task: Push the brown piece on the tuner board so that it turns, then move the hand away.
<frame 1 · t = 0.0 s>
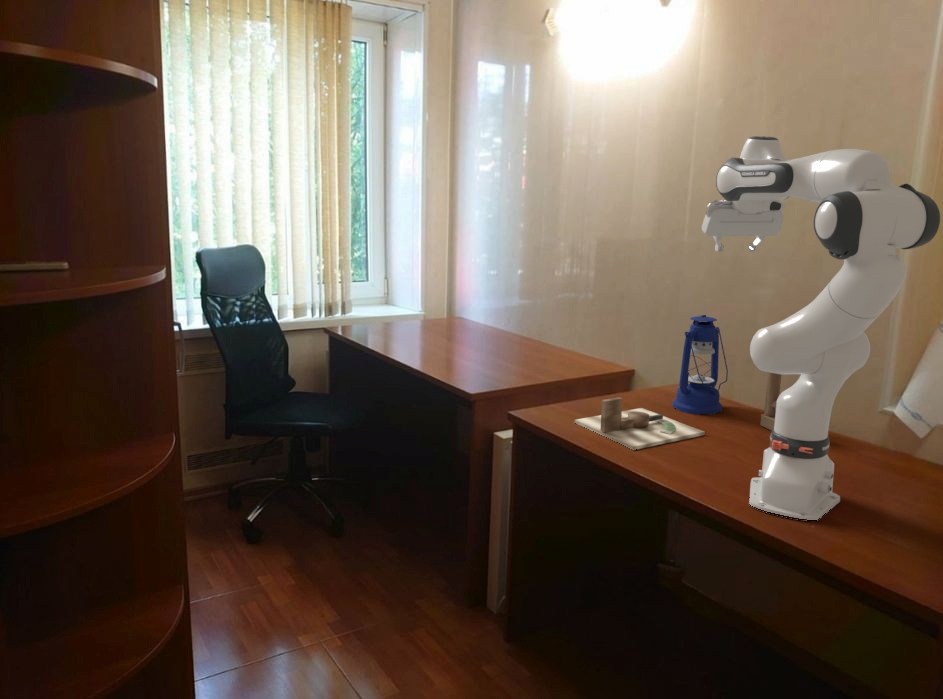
hand: (735, 250, 188), 52 cm above the table, tool tilted 20°, fingers open, 8 cm apart
tuner board: (637, 428, 206), on the table
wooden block: (777, 431, 205), on the table
brown piece: (633, 410, 204), point 6 cm above the table, hinge at 0.0°
lantern: (696, 408, 227), on the table
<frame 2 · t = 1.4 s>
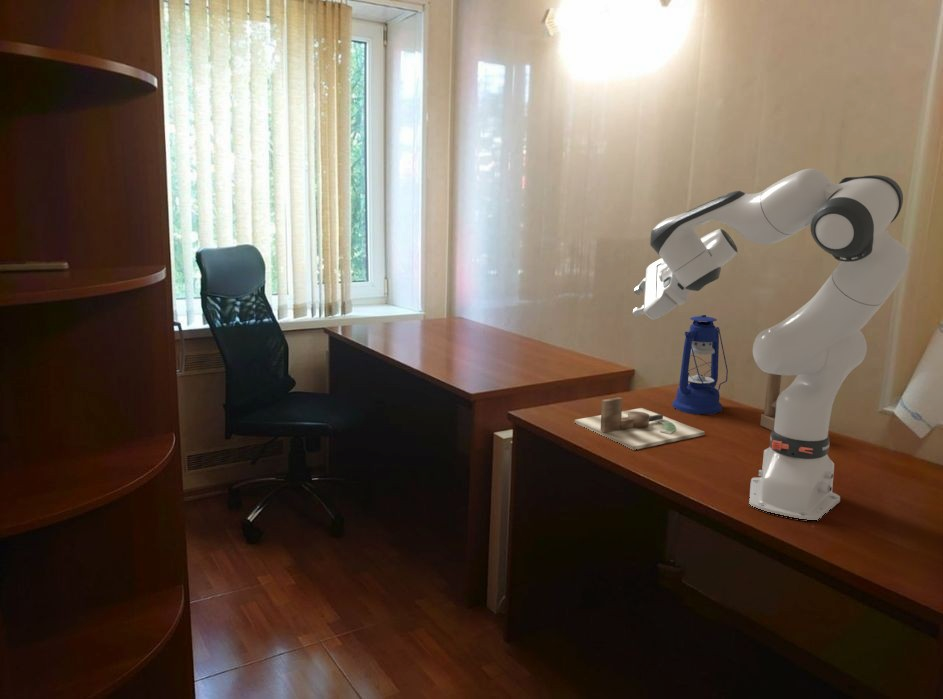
hand: (634, 302, 188), 38 cm above the table, tool tilted 55°, fingers open, 8 cm apart
nothing on the table moved.
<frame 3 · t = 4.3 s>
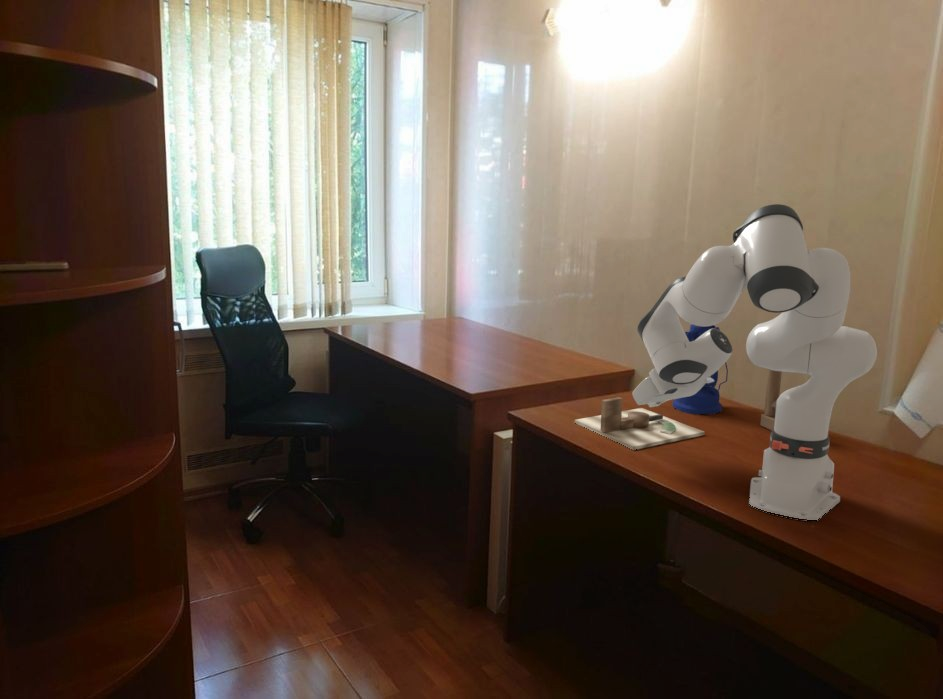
hand: (652, 404, 186), 13 cm above the table, tool tilted 45°, fingers closed
nothing on the table moved.
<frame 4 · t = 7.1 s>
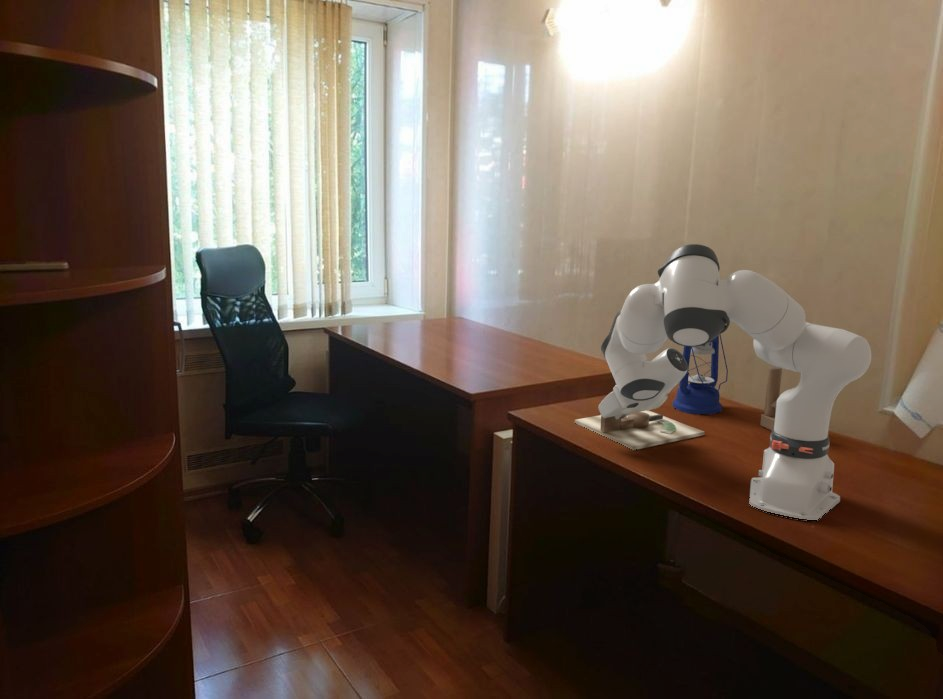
hand: (619, 416, 200), 5 cm above the table, tool tilted 45°, fingers closed, pressing on brown piece
brown piece: (633, 410, 204), point 6 cm above the table, hinge at 0.1°, touching gripper
everything else where it was.
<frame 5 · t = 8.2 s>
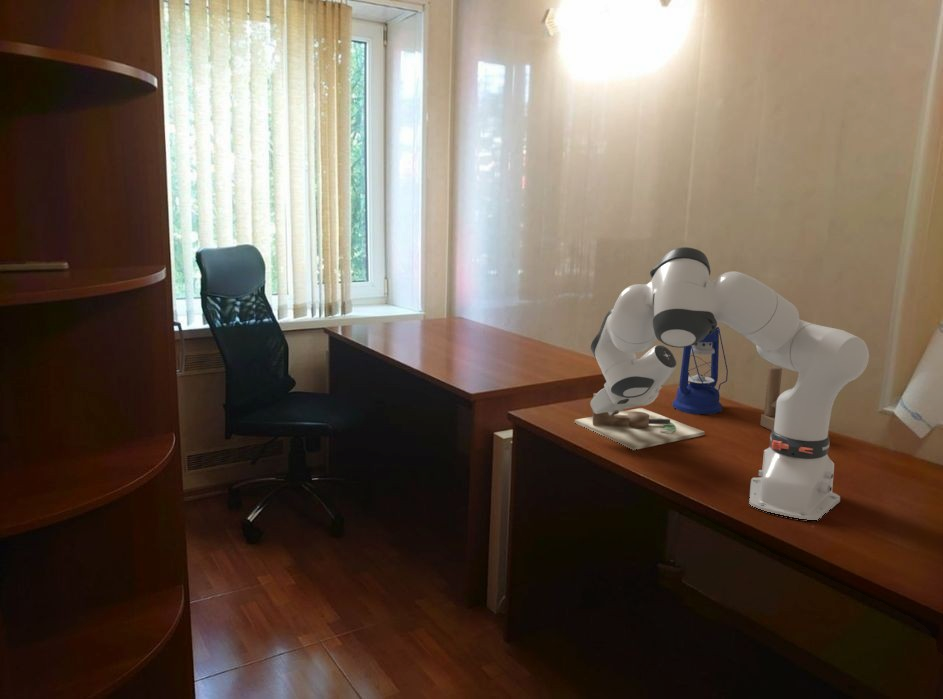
hand: (612, 412, 204), 5 cm above the table, tool tilted 45°, fingers closed
brown piece: (631, 409, 205), point 6 cm above the table, hinge at 31.3°, touching gripper
everything else where it was.
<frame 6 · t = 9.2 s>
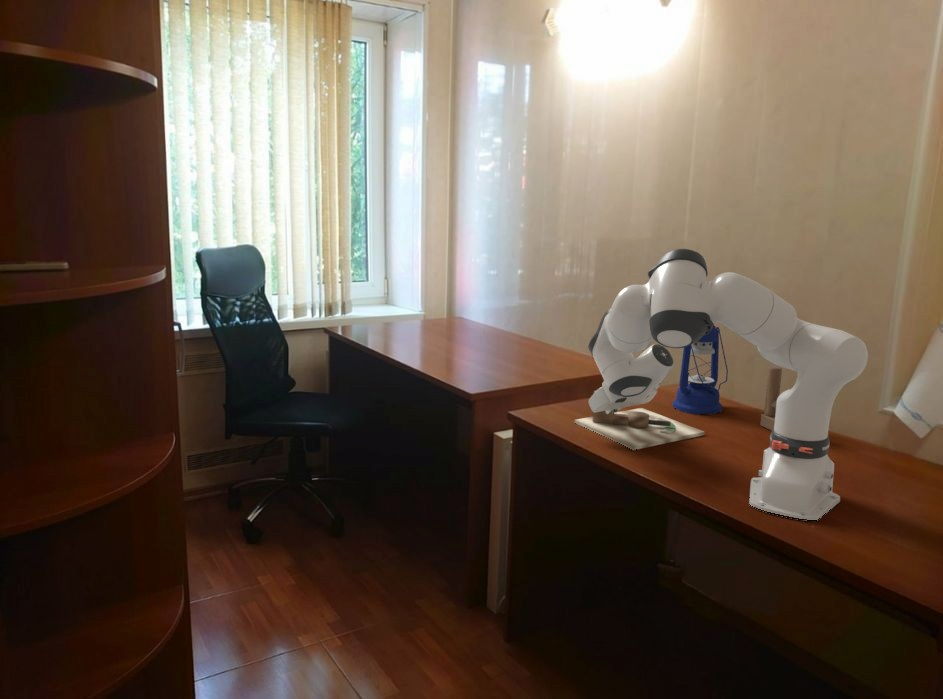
hand: (610, 411, 205), 5 cm above the table, tool tilted 45°, fingers closed
brown piece: (631, 409, 205), point 6 cm above the table, hinge at 44.5°, touching gripper
everything else where it was.
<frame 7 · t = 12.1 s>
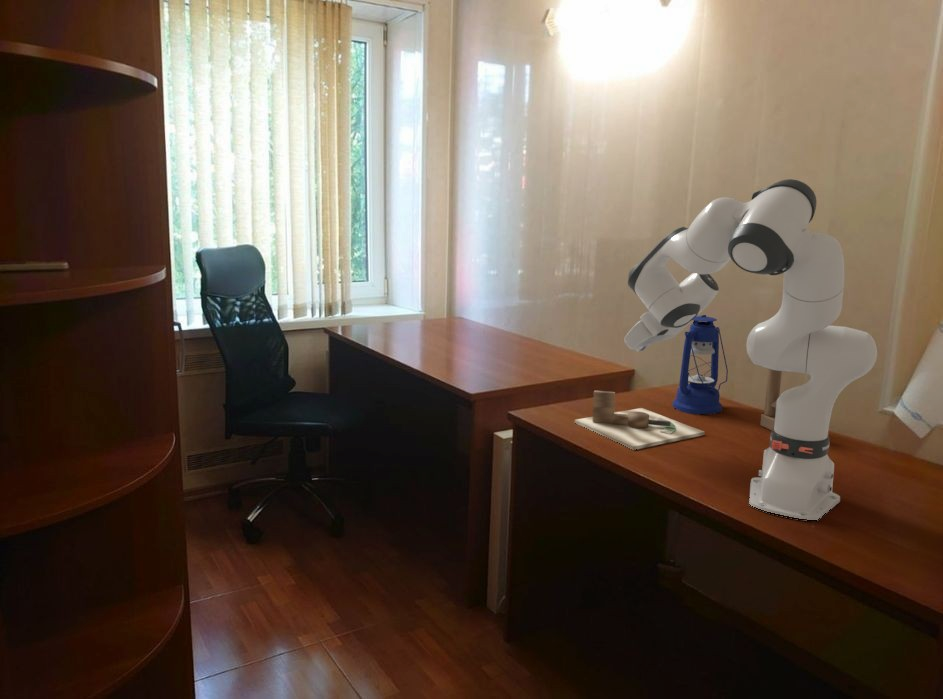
hand: (638, 349, 195), 25 cm above the table, tool tilted 45°, fingers closed
brown piece: (631, 409, 205), point 6 cm above the table, hinge at 44.7°
everything else where it was.
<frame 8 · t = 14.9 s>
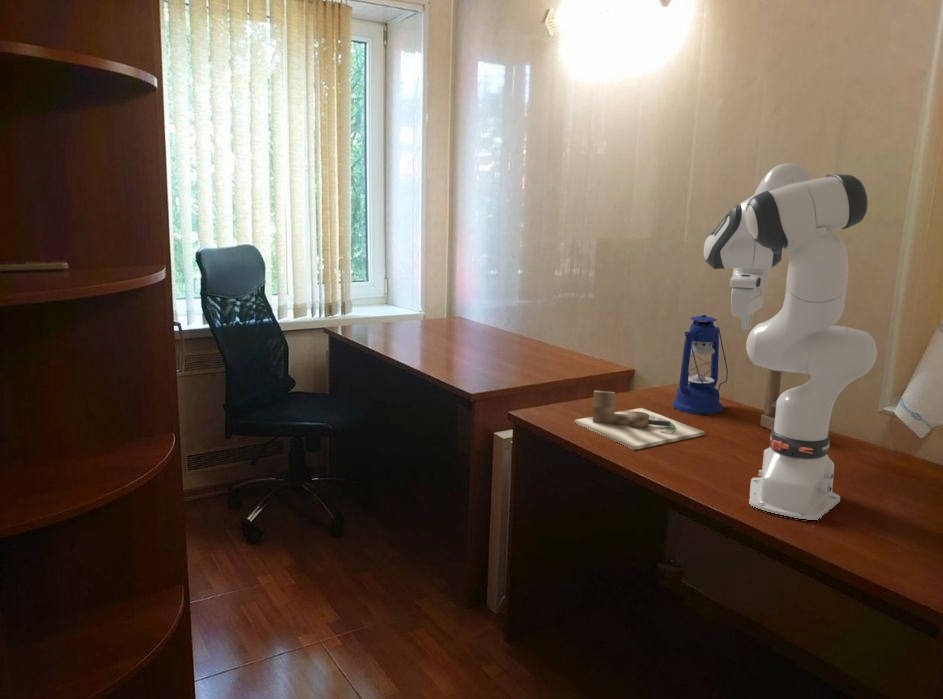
hand: (745, 329, 191), 31 cm above the table, tool pointing down, fingers closed
nothing on the table moved.
at the end: brown piece at +45° (first picture: +0°); the gripper is holding nothing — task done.
